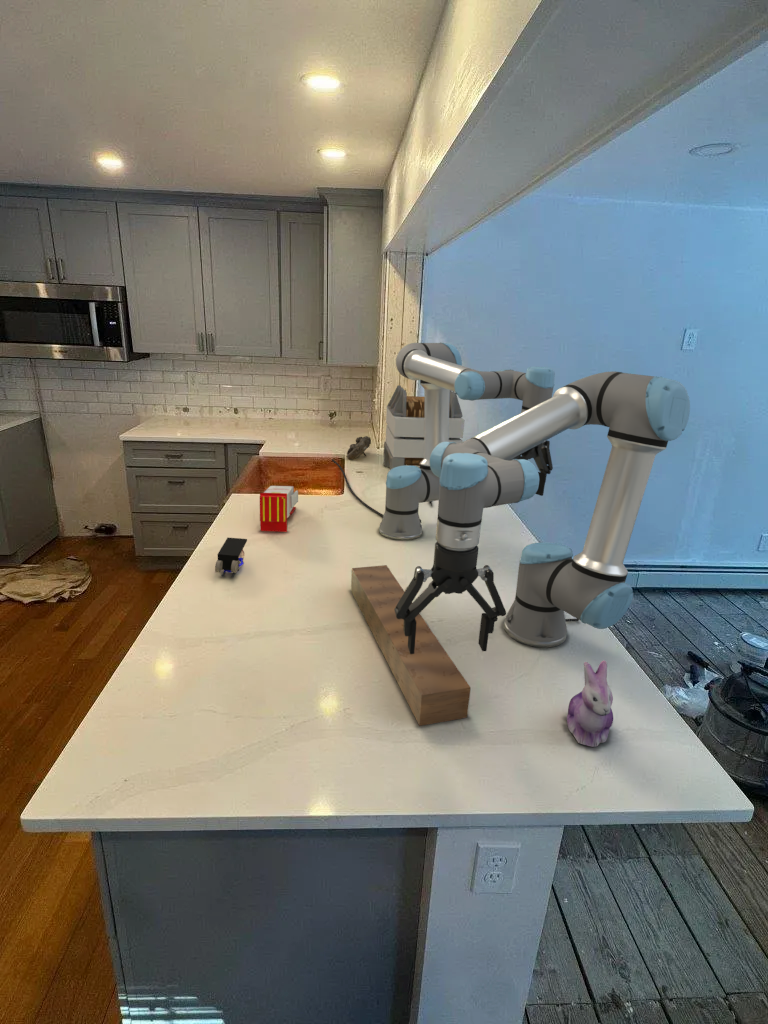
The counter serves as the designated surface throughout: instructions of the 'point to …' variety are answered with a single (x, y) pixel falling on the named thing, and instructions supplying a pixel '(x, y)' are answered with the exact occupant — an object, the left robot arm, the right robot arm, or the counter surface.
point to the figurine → (591, 708)
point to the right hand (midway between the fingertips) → (446, 648)
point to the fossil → (358, 447)
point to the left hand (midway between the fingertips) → (523, 498)
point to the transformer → (413, 428)
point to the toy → (277, 507)
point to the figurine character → (230, 556)
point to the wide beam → (420, 675)
